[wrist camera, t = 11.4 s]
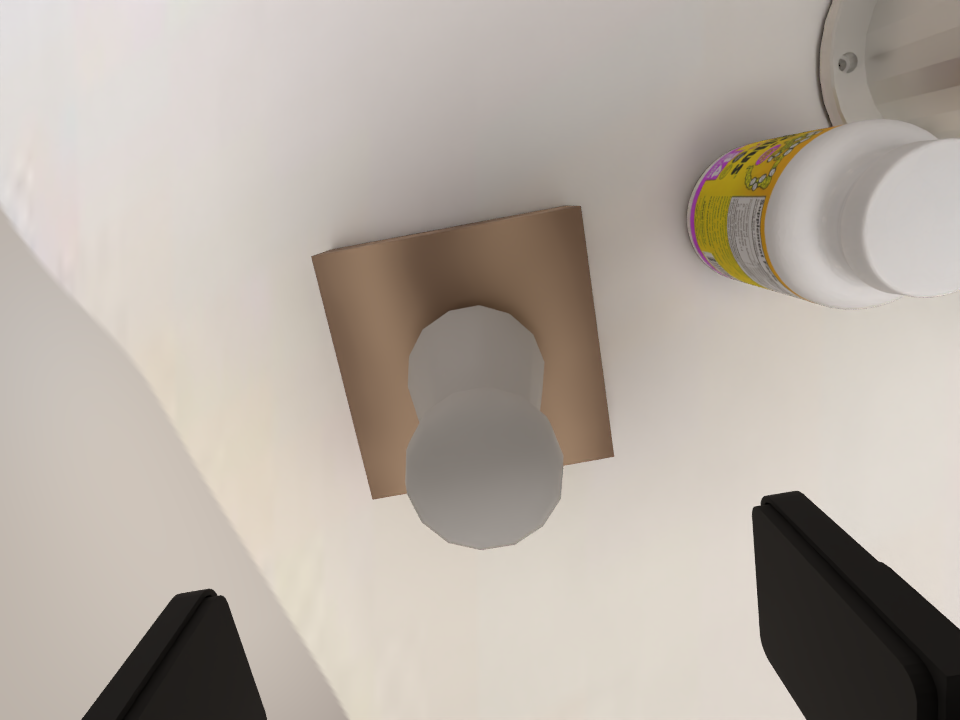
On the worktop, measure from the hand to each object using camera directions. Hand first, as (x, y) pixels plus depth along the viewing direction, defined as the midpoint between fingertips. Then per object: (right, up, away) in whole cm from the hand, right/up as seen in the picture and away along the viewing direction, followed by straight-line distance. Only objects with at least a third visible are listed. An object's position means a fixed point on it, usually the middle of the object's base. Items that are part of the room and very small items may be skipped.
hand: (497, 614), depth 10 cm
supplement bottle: (+13, +12, +20) cm, 27 cm away
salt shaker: (-1, +5, +17) cm, 18 cm away
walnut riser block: (-1, +5, +21) cm, 22 cm away
